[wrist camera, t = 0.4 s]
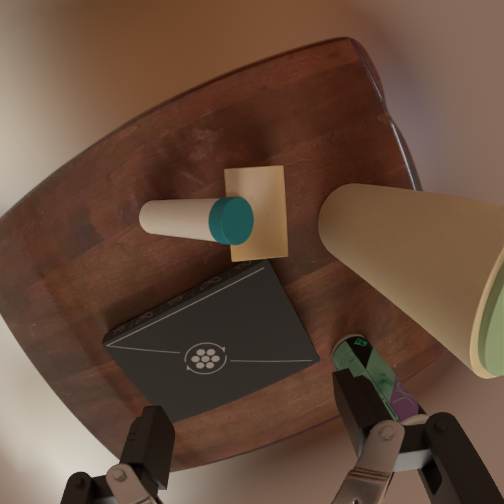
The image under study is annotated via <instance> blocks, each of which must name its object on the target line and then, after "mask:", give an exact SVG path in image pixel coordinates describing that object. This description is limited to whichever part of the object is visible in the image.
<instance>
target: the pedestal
mask: <svg viewBox="0 0 504 504" xmlns="http://www.w3.org/2000/svg"><path fill="white" fill-rule="evenodd" d="M318 231H319V235H320V239H321V241H322V243H323V245H324V246H325V248H326V249H327V250H328V251H329V252H330V253H331V254H332V255H334V256H335V257H336V258H337V259H339V260H340V261H341V262H343V263H344V264H345V265H346V266H348V267H349V268H350V269H352V270H353V271H354V272H355V273H357V274H358V275H359V276H360V277H362V278H363V279H364V280H366V281H367V282H368V283H369V284H371V285H372V286H373V287H374V288H376V289H377V290H378V291H379V292H381V293H382V294H383V295H384V296H385V297H387V298H388V299H389V300H390V301H392V302H393V303H394V304H395V305H396V306H398V307H399V308H400V309H401V310H403V311H404V312H405V313H406V314H407V315H409V316H410V317H411V318H412V319H413V320H415V321H416V322H417V323H418V324H419V325H420V326H422V327H423V328H424V329H425V330H426V331H428V332H429V333H430V334H431V335H432V336H433V337H435V338H436V339H437V340H438V341H439V342H440V343H441V344H443V345H444V346H445V347H446V348H447V349H448V350H450V351H451V352H452V353H453V354H454V355H456V357H458V358H459V359H460V360H461V361H462V362H463V363H464V364H465V365H467V366H468V367H469V368H470V369H471V370H472V371H473V372H474V373H475V374H476V375H478V376H479V377H482V378H494V377H497V376H494V375H492V374H490V373H489V372H488V371H487V370H486V369H485V368H484V367H483V366H482V364H481V362H480V359H479V354H478V339H479V332H480V326H481V322H482V318H483V314H484V310H485V307H486V304H487V301H488V298H489V295H490V292H491V289H492V287H493V285H494V282H495V280H496V277H497V275H498V273H499V271H500V269H501V267H502V265H503V263H504V206H502V205H497V204H492V203H487V202H482V201H477V200H471V199H466V198H460V197H455V196H448V195H442V194H436V193H430V192H423V191H416V190H409V189H401V188H393V187H385V186H377V185H368V184H358V183H351V184H346V185H343V186H341V187H339V188H337V189H335V190H334V191H333V192H332V193H331V194H330V195H329V196H328V197H327V198H326V200H325V201H324V203H323V205H322V207H321V209H320V212H319V217H318Z"/></svg>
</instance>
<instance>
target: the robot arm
mask: <svg viewBox="0 0 504 504" xmlns="http://www.w3.org/2000/svg"><path fill="white" fill-rule="evenodd" d="M332 376H333V385H334V395H335V401H336V404H337V407H338V410H339V412H340V415H341V417H342V419H343V422H344V425H345V427H346V430H347V432H348V434H349V437H350V440H351V442H352V444H353V447H354V450H355V452H356V454H357V457H358V461H357V463H356V465H355V467H354V469H353V470H350V471H349V472H348V474H347V476H346V477H345V480H344V481H343V483H342V485H341V487H340V489H339V491H338V493H337V494H336V496H335V498H334V500H333V501H332V503H331V504H383V502H384V499H385V497H386V495H387V492H388V490H389V487H390V485H391V482H392V480H393V477H394V475H395V472H399V471H407V470H414V469H417V470H418V473H419V475H420V477H421V480H422V482H423V484H424V487H425V489H426V491H427V494H428V496H429V499H430V501H431V504H504V499H503V498H502V495H501V493H500V492H499V490H498V488H497V486H496V484H495V482H494V481H493V479H492V477H491V475H490V474H489V472H488V470H487V468H486V467H485V465H484V463H483V462H482V460H481V458H480V456H479V455H478V453H477V451H476V450H475V448H474V447H473V445H472V443H471V442H470V440H469V439H468V437H467V436H466V434H465V432H464V431H463V429H462V427H461V426H460V424H459V423H458V421H457V420H456V418H455V417H454V416H453V415H451V414H449V413H446V412H440V413H436V414H433V415H432V416H430V417H429V418H428V419H427V421H426V423H423V424H417V425H402V424H400V423H399V422H397V421H395V420H394V419H393V418H392V417H391V415H390V413H389V411H388V410H387V408H386V406H385V404H384V403H383V401H382V399H381V397H380V396H379V394H378V392H377V391H376V390H375V387H374V386H373V384H372V382H371V380H369V379H368V378H366V377H365V376H363V375H360V376H357V377H353V375H352V373H351V371H350V369H349V368H345V369H342V370H339V371H336V372H333V373H332ZM174 440H175V430H174V427H173V425H172V423H171V421H170V420H169V418H168V416H167V415H166V413H165V411H164V409H163V408H162V406H160V405H157V406H146V407H144V409H143V412H142V416H141V417H137V418H136V419H135V421H134V422H133V423H132V424H131V427H130V430H129V434H128V436H127V441H126V443H125V446H124V449H123V452H122V455H121V459H120V462H119V464H117V465H114V466H112V467H111V468H110V469H109V470H108V472H107V474H106V475H103V476H98V477H93V478H91V477H90V476H89V475H88V474H87V473H85V472H77V473H74V474H73V475H71V476H70V478H69V479H68V482H67V484H66V488H65V490H64V493H63V497H62V500H61V503H60V504H164V503H163V502H162V500H161V499H160V498H159V496H158V495H157V493H158V490H167V484H168V478H169V471H170V465H171V459H172V453H173V446H174Z"/></svg>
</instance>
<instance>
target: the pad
mask: <svg viewBox="0 0 504 504" xmlns="http://www.w3.org/2000/svg"><path fill="white" fill-rule="evenodd" d="M478 354H479V359H480V362H481V364H482V366H483V367H484V368H485V369H486V370H487V371H488V372H489V373H490V374H492V375H494V376H503V375H504V263H503V265H502V267H501V269H500V271H499V273H498V275H497V277H496V280H495V282H494V285H493V287H492V289H491V292H490V295H489V298H488V301H487V304H486V307H485V310H484V314H483V318H482V322H481V326H480V332H479V339H478Z"/></svg>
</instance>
